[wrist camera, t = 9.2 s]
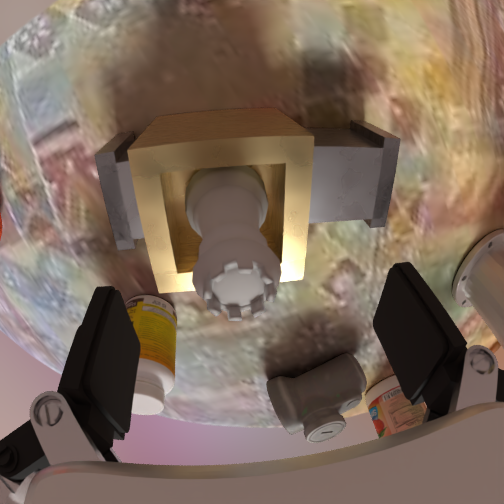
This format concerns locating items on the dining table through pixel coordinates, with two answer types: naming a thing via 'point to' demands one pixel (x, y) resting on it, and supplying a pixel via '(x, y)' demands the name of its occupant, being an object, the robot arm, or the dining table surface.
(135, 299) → the supplement bottle
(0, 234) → the clementine
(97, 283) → the dining table surface
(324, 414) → the pipe fitting
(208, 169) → the rook chess piece
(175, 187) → the valve body
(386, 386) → the fruit juice
